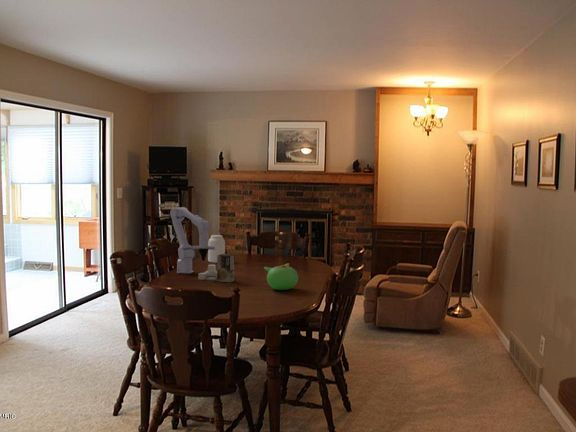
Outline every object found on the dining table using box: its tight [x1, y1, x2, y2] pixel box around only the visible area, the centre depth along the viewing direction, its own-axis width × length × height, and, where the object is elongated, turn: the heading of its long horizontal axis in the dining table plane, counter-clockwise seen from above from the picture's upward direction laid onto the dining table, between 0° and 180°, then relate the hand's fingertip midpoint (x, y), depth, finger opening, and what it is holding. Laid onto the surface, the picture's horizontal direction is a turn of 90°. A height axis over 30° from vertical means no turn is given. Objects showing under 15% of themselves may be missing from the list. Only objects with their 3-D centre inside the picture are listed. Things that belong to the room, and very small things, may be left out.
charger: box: [207, 263, 217, 273], centre depth 328 cm, size 4×4×6 cm
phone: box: [205, 276, 217, 282], centre depth 314 cm, size 6×8×1 cm
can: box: [207, 234, 226, 264], centre depth 382 cm, size 12×12×20 cm
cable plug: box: [197, 272, 208, 281], centre depth 315 cm, size 5×4×4 cm
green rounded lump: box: [263, 262, 299, 291], centre depth 289 cm, size 18×17×15 cm
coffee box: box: [216, 253, 235, 283], centre depth 309 cm, size 9×6×16 cm
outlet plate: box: [203, 269, 217, 277], centre depth 328 cm, size 12×9×2 cm
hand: (203, 260), depth 324 cm, fingers closed
